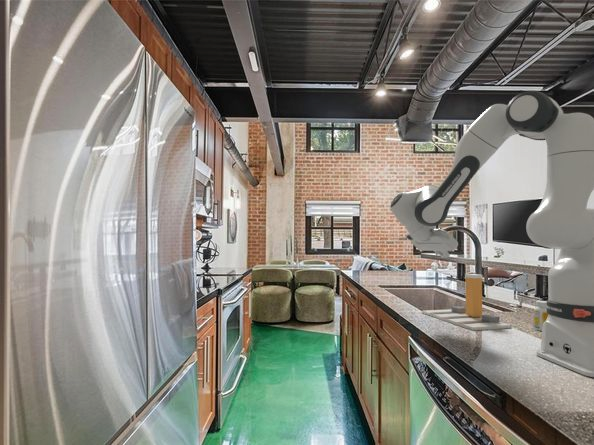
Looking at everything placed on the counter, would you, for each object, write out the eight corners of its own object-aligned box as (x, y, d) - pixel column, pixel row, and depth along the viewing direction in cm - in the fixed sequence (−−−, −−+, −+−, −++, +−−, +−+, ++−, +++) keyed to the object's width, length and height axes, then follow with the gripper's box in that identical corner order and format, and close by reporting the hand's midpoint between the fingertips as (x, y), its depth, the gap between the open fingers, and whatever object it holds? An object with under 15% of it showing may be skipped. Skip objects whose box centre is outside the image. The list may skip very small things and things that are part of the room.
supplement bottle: (531, 329, 120) (531, 301, 121) (537, 327, 124) (536, 299, 124) (550, 333, 116) (550, 303, 117) (555, 330, 120) (555, 301, 120)
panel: (511, 327, 122) (511, 319, 122) (472, 330, 118) (472, 321, 118) (455, 311, 149) (455, 304, 149) (422, 313, 145) (422, 305, 145)
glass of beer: (482, 316, 134) (482, 274, 134) (473, 317, 133) (473, 275, 133) (474, 314, 138) (474, 273, 138) (465, 314, 137) (465, 274, 137)
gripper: (447, 222, 122) (471, 251, 124) (412, 225, 141) (434, 250, 143) (436, 235, 120) (461, 264, 122) (402, 237, 140) (424, 261, 142)
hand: (446, 256), depth 133 cm, fingers closed
